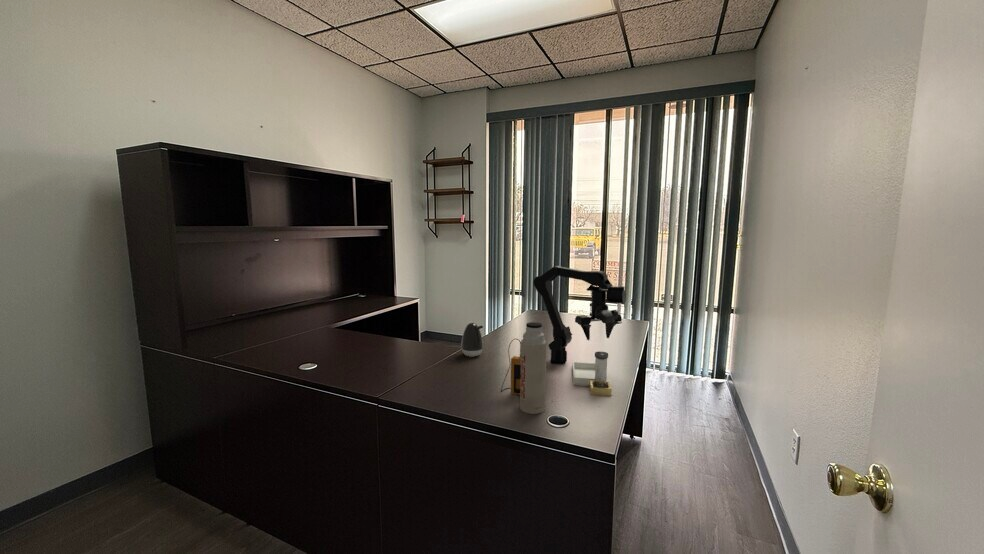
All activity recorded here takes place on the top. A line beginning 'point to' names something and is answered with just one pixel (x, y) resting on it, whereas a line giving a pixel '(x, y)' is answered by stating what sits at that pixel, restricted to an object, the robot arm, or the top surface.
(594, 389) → the socket collar
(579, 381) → the tray
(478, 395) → the top surface
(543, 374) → the thermos bottle
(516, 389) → the multimeter
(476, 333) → the pump dispenser
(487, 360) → the top surface
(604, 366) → the strut
